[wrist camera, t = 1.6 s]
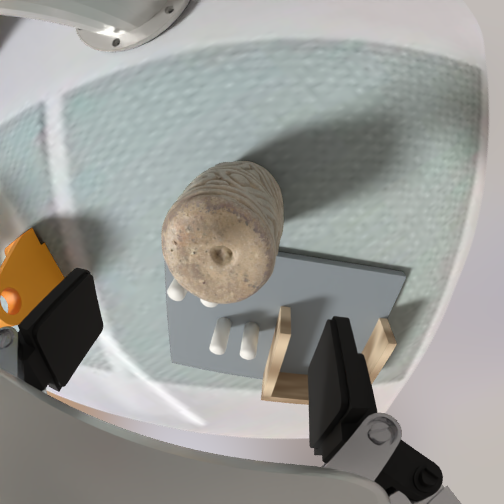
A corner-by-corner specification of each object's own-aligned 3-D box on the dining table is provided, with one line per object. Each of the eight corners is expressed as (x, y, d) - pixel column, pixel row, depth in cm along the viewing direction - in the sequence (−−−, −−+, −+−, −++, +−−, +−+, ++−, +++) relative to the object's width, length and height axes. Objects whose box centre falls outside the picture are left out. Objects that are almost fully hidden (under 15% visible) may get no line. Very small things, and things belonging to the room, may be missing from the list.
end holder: (280, 305, 28) (280, 333, 25) (387, 318, 28) (397, 344, 25) (263, 374, 34) (261, 400, 30) (351, 382, 33) (355, 406, 30)
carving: (243, 137, 22) (208, 159, 12) (300, 204, 24) (315, 279, 14) (190, 185, 25) (126, 244, 14) (246, 245, 27) (223, 335, 16)
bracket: (14, 241, 30) (-40, 285, 19) (36, 225, 28) (-28, 272, 18) (50, 302, 34) (5, 354, 24) (75, 294, 33) (25, 353, 22)
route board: (167, 234, 27) (147, 258, 23) (403, 271, 26) (420, 300, 22) (173, 357, 35) (162, 385, 31) (348, 380, 35) (352, 410, 30)
